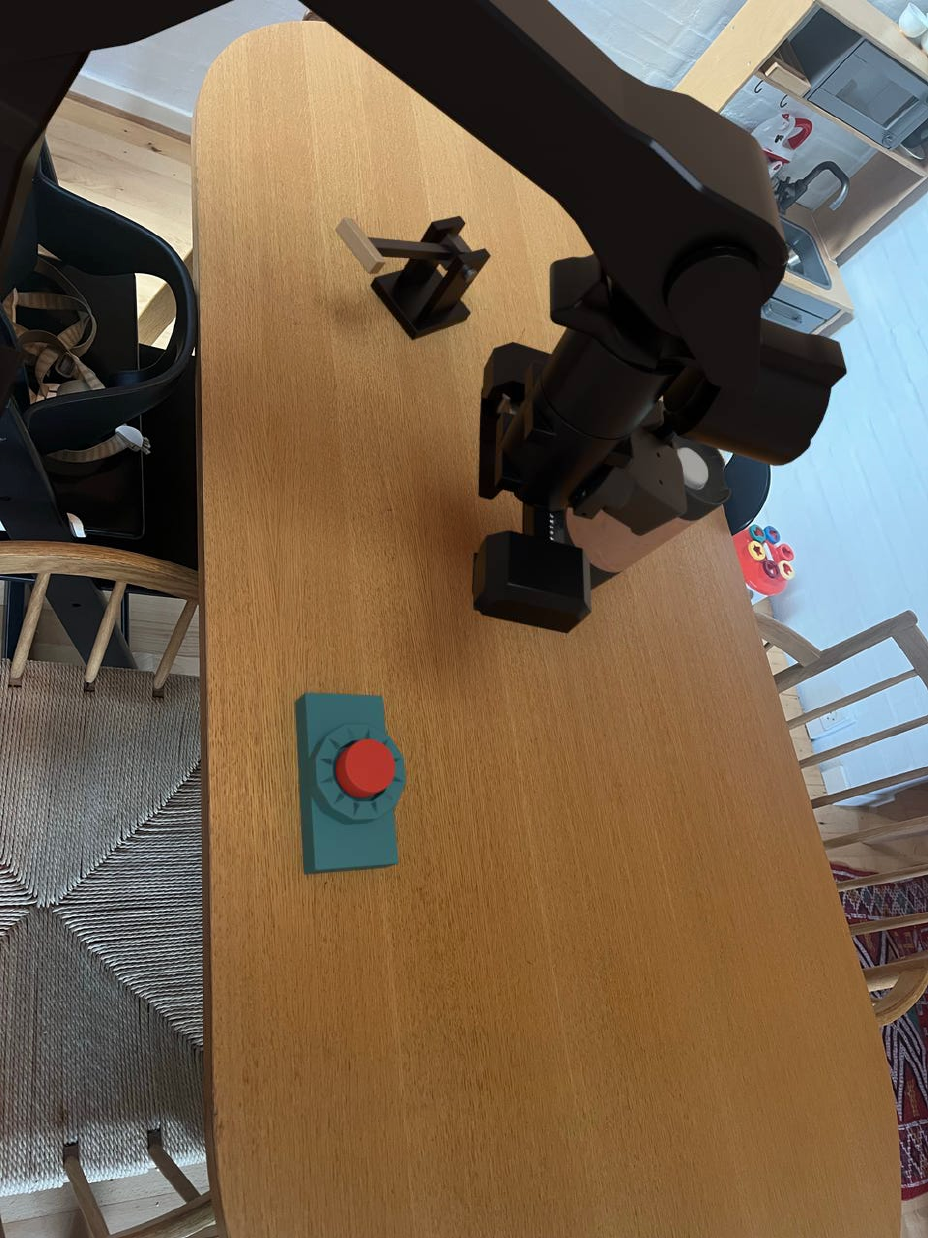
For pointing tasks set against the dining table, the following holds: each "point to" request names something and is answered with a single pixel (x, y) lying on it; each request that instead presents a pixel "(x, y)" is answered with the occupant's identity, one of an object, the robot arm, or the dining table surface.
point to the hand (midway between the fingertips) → (483, 550)
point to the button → (365, 768)
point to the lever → (397, 247)
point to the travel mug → (621, 548)
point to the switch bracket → (431, 285)
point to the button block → (329, 815)
